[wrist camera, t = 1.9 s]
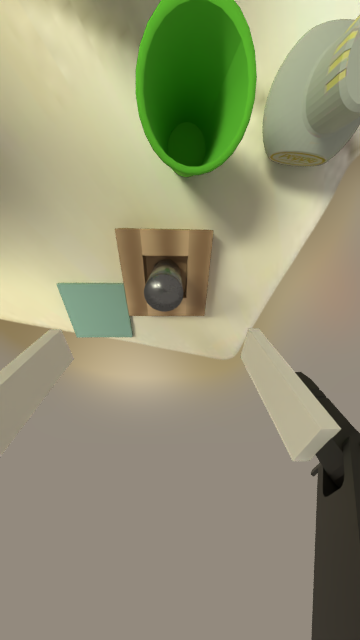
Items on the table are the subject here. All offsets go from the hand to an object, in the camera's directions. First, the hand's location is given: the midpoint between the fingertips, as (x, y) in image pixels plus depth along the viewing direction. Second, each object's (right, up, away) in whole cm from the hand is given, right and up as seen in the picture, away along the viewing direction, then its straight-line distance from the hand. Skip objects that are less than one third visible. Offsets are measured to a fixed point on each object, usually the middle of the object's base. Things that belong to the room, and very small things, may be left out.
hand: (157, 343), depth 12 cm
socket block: (-1, +10, +18) cm, 21 cm away
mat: (-15, +3, +21) cm, 26 cm away
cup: (+3, +24, +10) cm, 26 cm away
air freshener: (+17, +27, +9) cm, 33 cm away
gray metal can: (-1, +10, +17) cm, 20 cm away
